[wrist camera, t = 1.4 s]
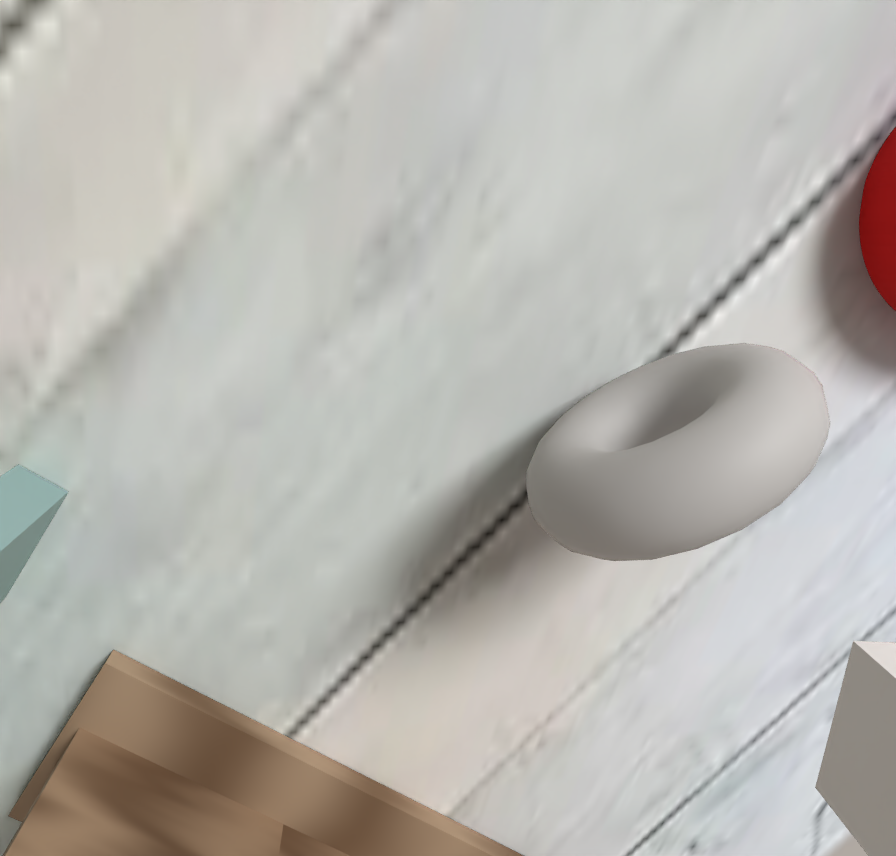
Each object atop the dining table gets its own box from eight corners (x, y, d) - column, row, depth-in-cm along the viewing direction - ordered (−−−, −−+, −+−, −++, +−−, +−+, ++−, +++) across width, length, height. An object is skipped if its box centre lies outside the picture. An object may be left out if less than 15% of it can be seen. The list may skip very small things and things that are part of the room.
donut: (528, 507, 31) (597, 633, 22) (488, 435, 30) (541, 533, 21) (750, 386, 31) (922, 460, 21) (717, 309, 30) (881, 350, 20)
